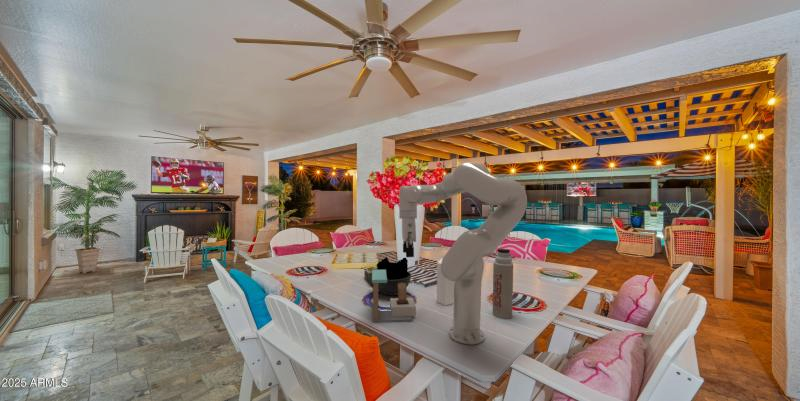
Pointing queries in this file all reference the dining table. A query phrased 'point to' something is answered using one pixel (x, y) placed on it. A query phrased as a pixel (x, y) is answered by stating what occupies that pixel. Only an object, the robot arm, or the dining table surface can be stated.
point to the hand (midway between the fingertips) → (408, 254)
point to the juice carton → (369, 276)
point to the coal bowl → (393, 275)
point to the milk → (444, 287)
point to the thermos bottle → (503, 284)
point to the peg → (402, 294)
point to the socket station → (397, 311)
